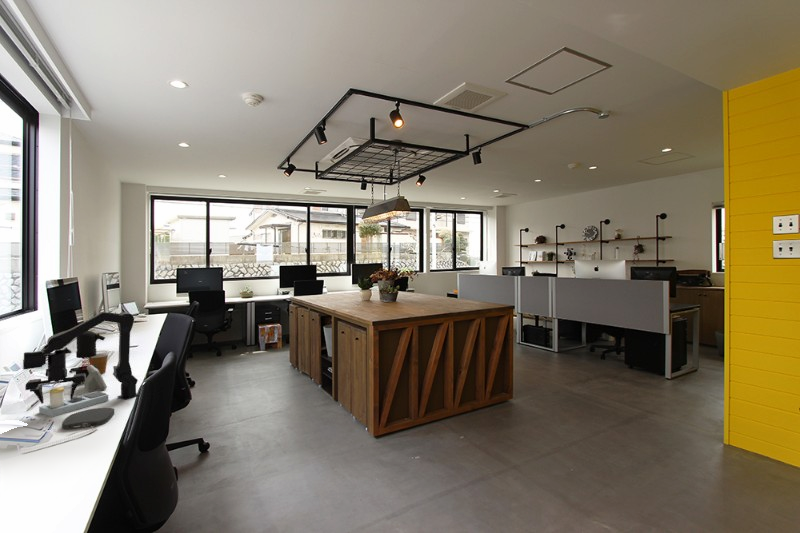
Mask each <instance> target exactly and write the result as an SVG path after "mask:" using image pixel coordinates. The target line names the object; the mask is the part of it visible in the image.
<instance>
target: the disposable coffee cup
mask: <svg viewBox="0 0 800 533" xmlns="http://www.w3.org/2000/svg"><path fill="white" fill-rule="evenodd" d="M109 355H110V354H109V351H108V350H96V356H93V357H91V365H96V366H97V369H98V370H99V372H100V374H101V375H102V374H105V373H106V371H107V370H106V369H107V364H108V358H109ZM88 358H89V360H90V357H88ZM89 364H90V362H89Z"/></svg>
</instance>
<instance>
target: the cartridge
mask: <svg viewBox="0 0 800 533" xmlns="http://www.w3.org/2000/svg"><path fill="white" fill-rule="evenodd" d="M64 400H65V387H55V388H50V389H49V404H50V408H51V409H54V408H58V407H61V406H64Z"/></svg>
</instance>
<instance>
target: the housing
mask: <svg viewBox="0 0 800 533" xmlns="http://www.w3.org/2000/svg"><path fill="white" fill-rule="evenodd" d="M94 392H95V391H91V392H89V393H88V394H90V393H94ZM86 394H87V393H85V394H82V401H78V402H75V403H71V398H67V399H64V406H61V407H58V408H54V409H51V408H50V403H49V404H45V405H44V404H43V405H41V406H39V407H38V413H39V414H42V415H45V416H48V417H51V418H53V417H56V416H59V415H62V414H66V413H70V412H73V411H77V410H80V409H83V408H86V407H90V406H93V405H97V404H101V403H103V402H106V401H107V402H108V401H109V394H107V393H106V395H102V396H99V397H95V398H92V399H91V398H88V397H85V396H83V395H86Z"/></svg>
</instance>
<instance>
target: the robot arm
mask: <svg viewBox="0 0 800 533" xmlns="http://www.w3.org/2000/svg"><path fill="white" fill-rule="evenodd" d="M104 322H110V323H117V327H118V328H117V329H118V332H119V336H118V338H119V339H118V340H119V341H118V361H117V364H116V365H113V366H112V369H113V373H112V376H113V377H115V379H116V380H117V381H118V382H119V383H120V395H117V398H119V399H122V400H128V399H131V398H136V397H138V396H137V394H139V393H137V383H138V382H139V379H138V378H136V377H135V375H133V372H132V371H133V370H132V367H131V365H130V364H131V362H130V351H131V350H130V349H131V348H130V347H131V345H130V344H131V332H132V328H133V326H134V322H135V316H134V315H133V314H131V313H129V312H125V311H124V312H121V313H116V312H106V311H100V312H99V313H97V314H95V315H94V316H92V317H90V318H88V319H86V320H84V321H83V322H81V323H79V324H78V325H74V326H75V327H74V326H73V327H71V328H70V329H68V330H64V331H61V332H58V333H55V334H54V335H51V336H49V337H48V338H47V341H46V344H45V345H44V346H43V347H42V349H41V350H40V351H28V352H24V353H23V359H22V360H23V361H22V370H32V369H38V368H43V366H45V365H46V364H47V368H45V377H47V380H46V379H44V380H42V378H35V379H29V380H28V381H27V382H26V383H25V385H24V386H25V391H29V392H33V394H35V395H36V396H37V399H38V400H39V401H40V404H42V405H44V403H45V402H44V400H45V398H44V393H43V386H47V385H54V384H55V385H56V384H61V383H70V382H72V384H71V390H70V396H69V397H70V398H71V399H72V397H73V396H75V391H76V390H77V387H78V386H79V385H81V384H82V383H83V384H84V382H85V380H86V374H85V373H82V374H76V373H74V375H73V376H71V377H70V376H68V369H67V365H66V363H67V361H66V360H67V356H66V355H67V354H71V353H72V350H71V349H68V347H66V346H68V345H69V344H70V343H71V342H72V341H74V339H77V336H79V335H81V334H82V333H84V332H86V331H90V330H92V329H93V328H94V327H96V326H99V325H100V324H102V323H104ZM46 357H47V358H46ZM46 362H47V363H46ZM70 398H69V399H70Z"/></svg>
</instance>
